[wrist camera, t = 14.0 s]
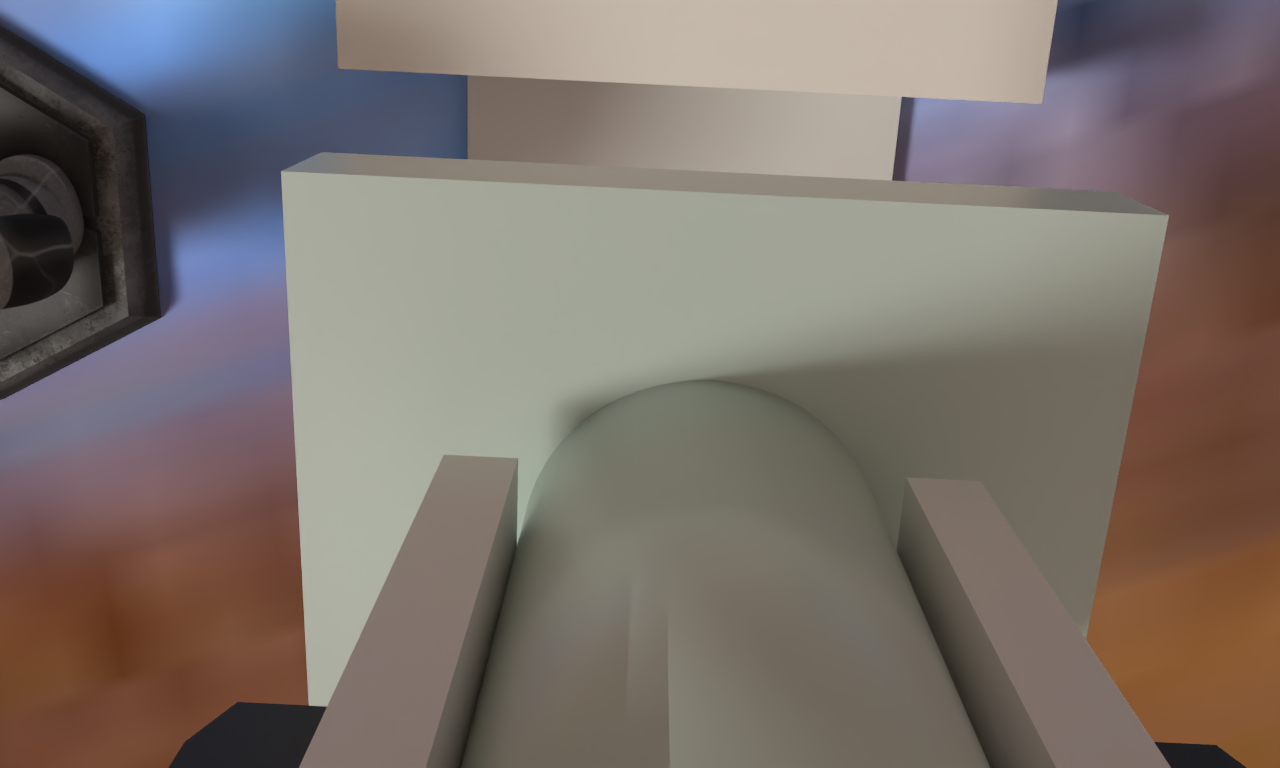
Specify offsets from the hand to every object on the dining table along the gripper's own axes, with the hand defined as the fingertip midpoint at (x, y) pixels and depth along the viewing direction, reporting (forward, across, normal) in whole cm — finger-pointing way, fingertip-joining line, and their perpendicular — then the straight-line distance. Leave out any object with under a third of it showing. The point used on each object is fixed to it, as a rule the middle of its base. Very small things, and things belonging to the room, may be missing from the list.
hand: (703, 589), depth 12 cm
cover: (+2, 0, 0) cm, 2 cm away
